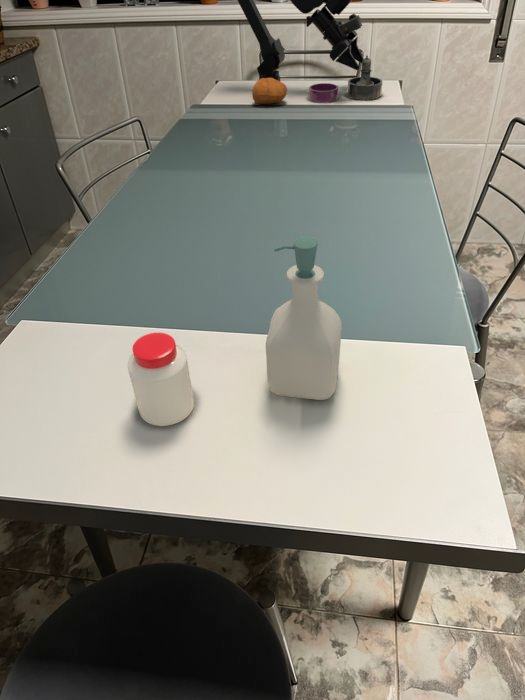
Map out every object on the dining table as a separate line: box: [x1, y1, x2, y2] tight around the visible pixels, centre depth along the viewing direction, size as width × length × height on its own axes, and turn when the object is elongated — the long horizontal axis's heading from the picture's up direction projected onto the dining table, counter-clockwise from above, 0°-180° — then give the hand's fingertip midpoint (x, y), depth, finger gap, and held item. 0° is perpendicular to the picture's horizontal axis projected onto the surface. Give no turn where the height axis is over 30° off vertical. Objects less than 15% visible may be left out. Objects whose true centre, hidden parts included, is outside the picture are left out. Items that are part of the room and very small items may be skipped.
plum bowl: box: [308, 82, 339, 104], centre depth 184 cm, size 10×10×4 cm
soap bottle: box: [265, 236, 343, 401], centre depth 73 cm, size 10×10×23 cm
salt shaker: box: [356, 55, 374, 85], centre depth 182 cm, size 6×6×12 cm
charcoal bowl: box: [346, 76, 383, 101], centre depth 185 cm, size 11×11×4 cm
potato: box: [251, 78, 288, 105], centre depth 181 cm, size 9×11×8 cm
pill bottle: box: [127, 332, 195, 427], centre depth 74 cm, size 8×8×11 cm
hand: (360, 65), depth 181 cm, fingers open, 9 cm apart
